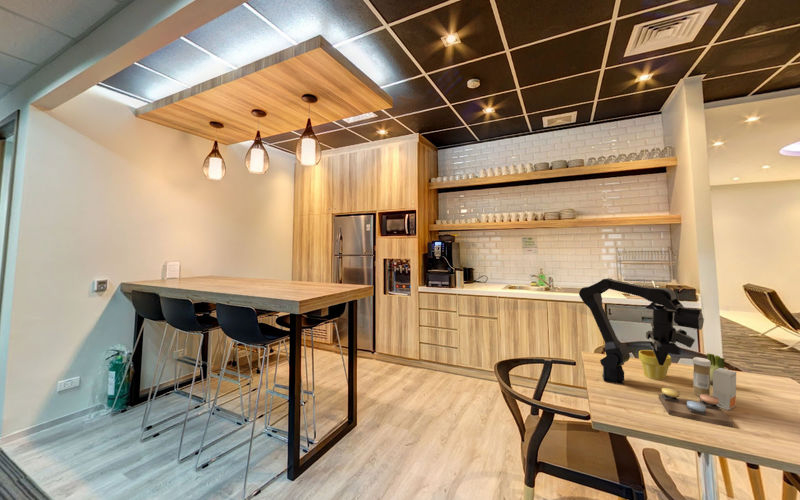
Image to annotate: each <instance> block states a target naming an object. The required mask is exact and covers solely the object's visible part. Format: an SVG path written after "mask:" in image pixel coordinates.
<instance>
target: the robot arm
mask: <svg viewBox="0 0 800 500" xmlns="http://www.w3.org/2000/svg"><path fill="white" fill-rule="evenodd" d="M608 290H612V291H615V292H616V291H617V292H620V293H624V294H629V295H634V296H636V297H641V298H643V299H644V300H646V301H648V302H650V304H648V305H646V306H645V308H646V309H648V310H652V322H650V327H651V330H648V331H647V332H646V333H645V338H646V339H647V340H650V339H651V342H650V341H649V346H650V347H651V349H652V351H653V352H654V354H655V357H656V359H657V361H658V363H659V365H662V366H663V365H664V362H665V360H666V358H667V355H669V354H672V355H678V356H680V355H681V353H682V351H681V350H682V349H681V348H680V346H678V345H677V343H679V344H681V345H683V346H686V347H687V348H692V347H693V344H694V343H695V341H696V339H694V337H692V336H690V335H688V334H687V333H688V332H687V331H686V330H684V329H681V328H680V329H678V330H676V328H675V327H674V323H675V324H677V326H679V327H684V328H687V329H688V328H689V329H694V330H702V329H703V326H704V320H705V319H704V316H703V313H702V312H703V311H702V308H701V309H700V308H690V307H684V305H683V304H682V302H680V300H679V299H678V298H677V295H676V292H675V291H674V290H673V289H672V288H668V287H660V286H659V287H658V286H643V285H639V284H635V283H629V282H626V281H621V280H617V279H613V278H611V277H610V278H609V277H608V278H603V279H601V280H599V281H597V282H596V283H594V284H592V285H590V286H586V287H585V286H583V287H582V288H580V290H579V292H578V295H579V297H580V299H581V300H582V302H583V304H585V306H587V307H588V308H589V310H590V312H591V314H592V317H593V318H594V321H595V323H596V325H597V328H598V330H599V332H600V334H601V337H602V338H603V341H604V353H605V355H606V356H605V357H603V358H601V359H600V360H599V361H600V364H601V366H602V375H601V376H602V380H603V382H606V383H612V384H617V385H624V382H625V370H624V368H623V365H625V363H626V362H628V361H629V360H630V358H631V355H630V354H631V351H630V350H629V348H628V345H627V343H626V342H623V343H622V342H621V341H620V340H619V339H618V337H617V335H616V333H615V330H614V329H613V326H612V323H611V321H610V319H609V318H608V316H607V314H606V311H605V308H604V307H603V296H602V294H603V293H605V292H607V291H608Z"/></svg>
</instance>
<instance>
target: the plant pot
mask: <svg viewBox="0 0 800 500" xmlns="http://www.w3.org/2000/svg"><path fill="white" fill-rule="evenodd" d="M638 359H639V361H640V362H641V367H642V370H643V375H644V376H645V377H647V378H649V379H651V380H654V381H664V380H666V376H667V374H668V370H669V367H670V366H671V365H672V357H671V355H669V354H668V355H667V358H666V360H665V362H664V365H663V366H662V365H659V363H658V361H657V359H656V357H655V354H654V352H653V350H650V349H642V350H639V351H638Z"/></svg>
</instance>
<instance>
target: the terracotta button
mask: <svg viewBox="0 0 800 500" xmlns="http://www.w3.org/2000/svg"><path fill="white" fill-rule="evenodd" d="M699 399H700V400H702V401H704V402H705V403H706V404H708V405H714V404H719V399H718V398H716V397H714V396H713V395H711V394H710V395H707V394H700V397H699Z"/></svg>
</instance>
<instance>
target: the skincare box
mask: <svg viewBox="0 0 800 500" xmlns="http://www.w3.org/2000/svg"><path fill="white" fill-rule="evenodd" d="M712 396H714V397H716V398H718V399H719V404H716V405H717V406H718V407H719V408H720V409H723V410H727V411H729V410H732V409H733V408H735V407H736V404H737V403H736V398H737V371H733V370H730V369H726V368H724V369H723V368H719V369H716V370H714V371H713V385H712Z"/></svg>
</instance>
